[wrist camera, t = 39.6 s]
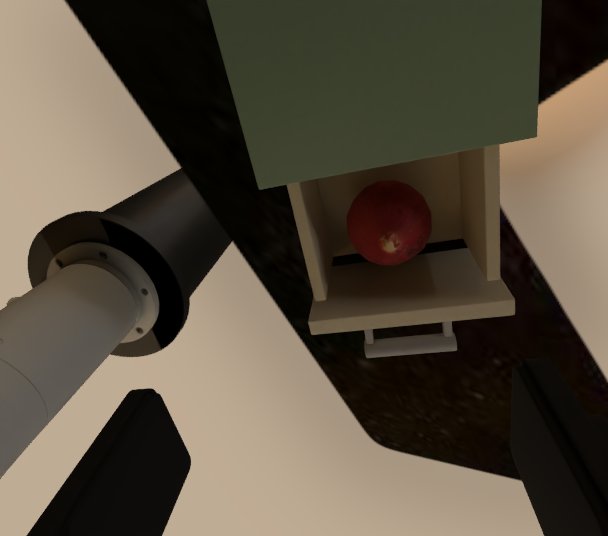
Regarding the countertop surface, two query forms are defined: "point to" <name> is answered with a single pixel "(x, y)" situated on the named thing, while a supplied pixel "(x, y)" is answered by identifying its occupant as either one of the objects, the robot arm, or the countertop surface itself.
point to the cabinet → (376, 80)
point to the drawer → (421, 268)
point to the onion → (389, 222)
